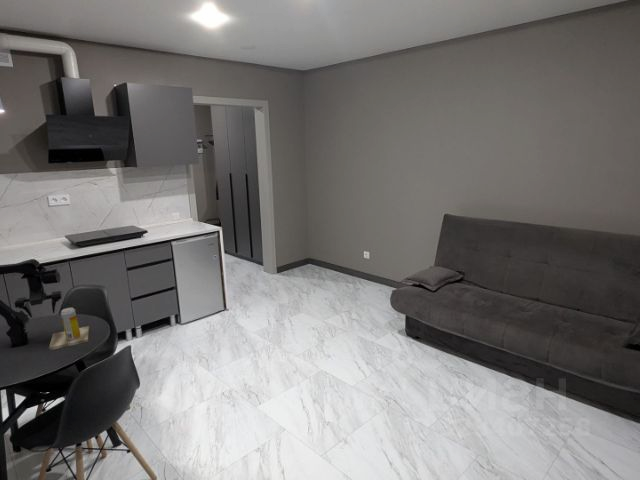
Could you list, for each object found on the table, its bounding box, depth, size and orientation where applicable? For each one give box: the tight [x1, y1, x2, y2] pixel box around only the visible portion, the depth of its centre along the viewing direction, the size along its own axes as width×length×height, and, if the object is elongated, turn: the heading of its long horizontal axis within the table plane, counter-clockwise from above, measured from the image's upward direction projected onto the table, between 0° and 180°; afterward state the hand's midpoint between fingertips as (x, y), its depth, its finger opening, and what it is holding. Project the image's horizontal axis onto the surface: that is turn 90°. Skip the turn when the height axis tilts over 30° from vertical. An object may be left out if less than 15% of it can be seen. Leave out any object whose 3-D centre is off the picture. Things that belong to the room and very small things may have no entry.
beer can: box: [60, 307, 80, 340], centre depth 198 cm, size 6×6×15 cm
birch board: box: [48, 325, 90, 351], centre depth 201 cm, size 16×16×2 cm
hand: (42, 315), depth 199 cm, fingers open, 9 cm apart
